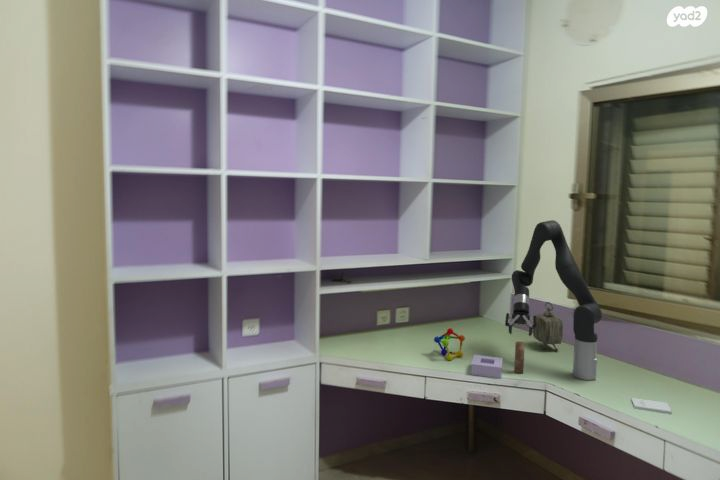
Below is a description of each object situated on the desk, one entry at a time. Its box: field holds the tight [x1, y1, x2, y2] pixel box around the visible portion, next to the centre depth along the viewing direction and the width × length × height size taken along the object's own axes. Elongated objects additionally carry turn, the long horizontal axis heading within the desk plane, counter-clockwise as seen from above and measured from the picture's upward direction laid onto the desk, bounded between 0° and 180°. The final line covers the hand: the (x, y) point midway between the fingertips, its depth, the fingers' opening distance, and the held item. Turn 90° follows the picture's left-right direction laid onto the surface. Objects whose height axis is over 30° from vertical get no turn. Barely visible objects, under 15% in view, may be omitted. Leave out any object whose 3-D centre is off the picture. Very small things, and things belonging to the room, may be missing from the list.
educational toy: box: [433, 327, 466, 361], centre depth 242 cm, size 16×13×15 cm
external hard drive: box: [630, 397, 672, 415], centre depth 189 cm, size 2×8×12 cm
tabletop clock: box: [532, 301, 564, 352], centre depth 256 cm, size 14×9×25 cm, turn 9°
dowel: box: [513, 341, 526, 375], centre depth 222 cm, size 4×4×14 cm
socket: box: [470, 354, 503, 379], centre depth 223 cm, size 13×13×5 cm
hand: (520, 334), depth 229 cm, fingers open, 8 cm apart
